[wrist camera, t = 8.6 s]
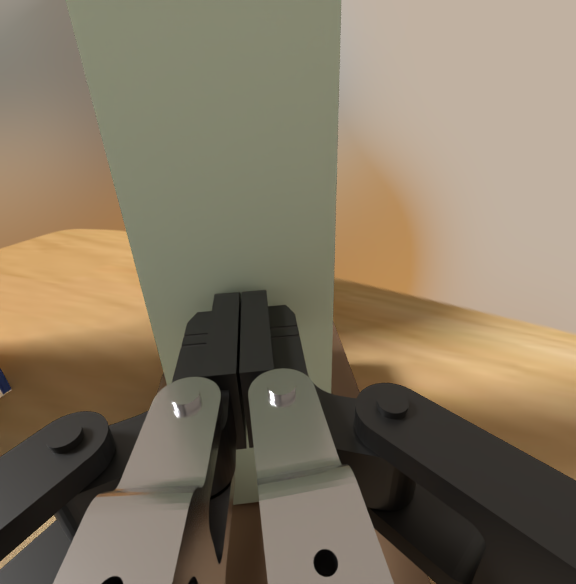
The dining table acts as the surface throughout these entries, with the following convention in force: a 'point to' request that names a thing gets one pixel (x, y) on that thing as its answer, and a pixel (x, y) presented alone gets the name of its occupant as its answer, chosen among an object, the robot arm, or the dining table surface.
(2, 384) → the beverage box
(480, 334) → the dining table surface
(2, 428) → the dining table surface
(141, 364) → the dining table surface
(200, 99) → the block
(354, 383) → the chute
